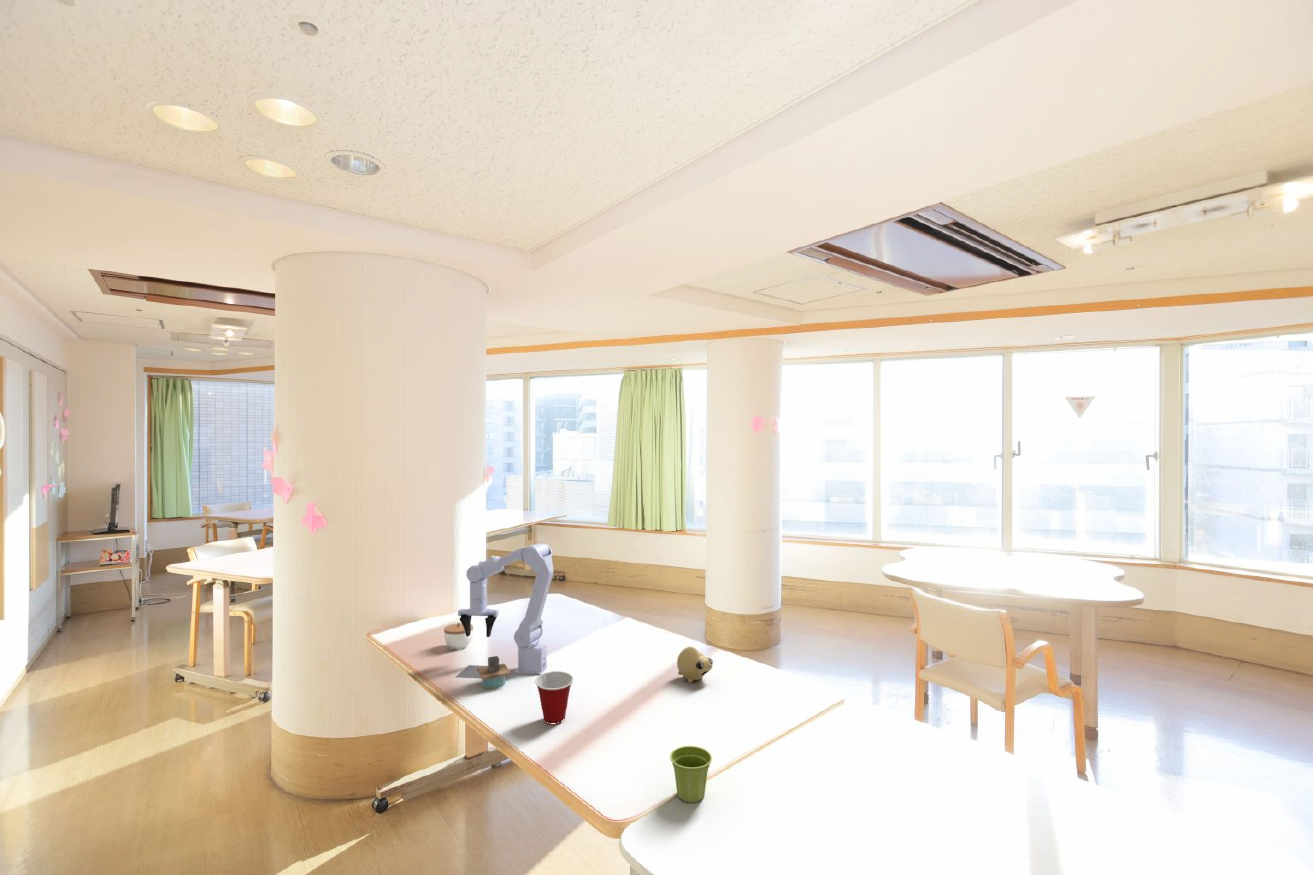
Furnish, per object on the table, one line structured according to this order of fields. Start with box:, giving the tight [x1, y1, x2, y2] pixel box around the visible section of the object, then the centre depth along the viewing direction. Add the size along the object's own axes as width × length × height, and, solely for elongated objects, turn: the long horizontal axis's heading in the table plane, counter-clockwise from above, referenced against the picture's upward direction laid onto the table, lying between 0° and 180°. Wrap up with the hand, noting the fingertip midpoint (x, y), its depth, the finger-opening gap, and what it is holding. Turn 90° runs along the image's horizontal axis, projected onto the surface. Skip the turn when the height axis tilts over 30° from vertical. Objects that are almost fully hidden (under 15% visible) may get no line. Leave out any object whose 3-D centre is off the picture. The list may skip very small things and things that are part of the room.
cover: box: [477, 655, 511, 681], centre depth 197 cm, size 9×9×5 cm
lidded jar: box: [443, 622, 474, 650], centre depth 234 cm, size 11×11×9 cm
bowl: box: [481, 675, 506, 690], centre depth 197 cm, size 7×7×4 cm
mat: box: [455, 664, 488, 679], centre depth 208 cm, size 11×11×1 cm
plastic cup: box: [534, 670, 574, 723], centre depth 171 cm, size 11×11×12 cm
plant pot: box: [669, 745, 713, 803], centre depth 135 cm, size 9×9×9 cm
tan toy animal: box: [676, 646, 714, 683], centre depth 200 cm, size 10×12×11 cm
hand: (478, 635), depth 216 cm, fingers open, 7 cm apart
